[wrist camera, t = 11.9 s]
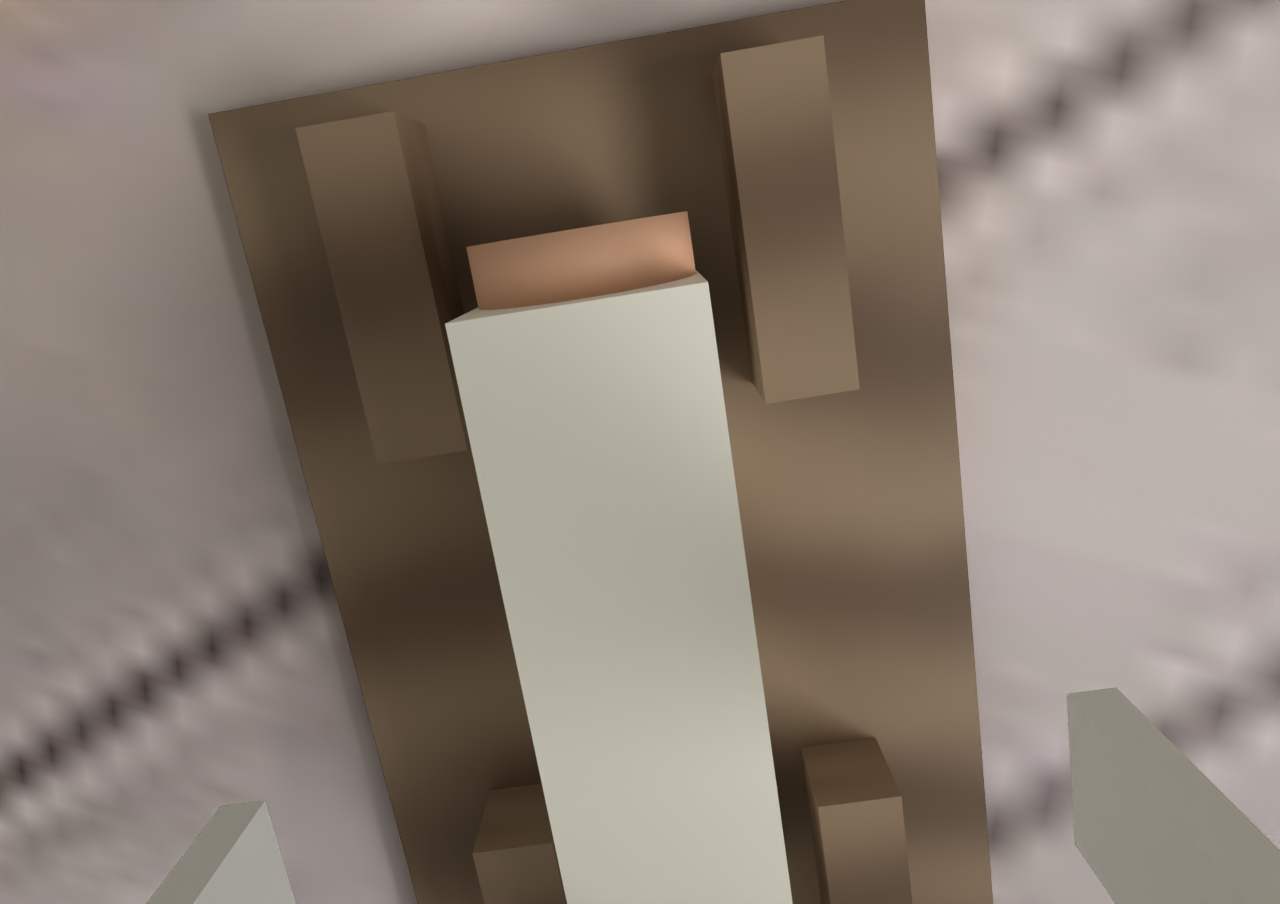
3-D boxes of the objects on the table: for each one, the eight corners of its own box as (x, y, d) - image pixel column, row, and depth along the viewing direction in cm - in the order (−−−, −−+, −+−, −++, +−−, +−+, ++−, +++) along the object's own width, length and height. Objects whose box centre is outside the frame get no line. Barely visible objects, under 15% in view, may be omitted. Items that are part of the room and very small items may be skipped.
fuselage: (773, 849, 25) (835, 1163, 16) (612, 869, 25) (594, 1190, 17) (683, 212, 20) (707, 205, 12) (491, 243, 21) (387, 257, 12)
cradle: (985, 941, 26) (1034, 1047, 23) (460, 1007, 27) (433, 1119, 24) (910, -2, 20) (963, -48, 17) (228, 119, 21) (147, 99, 18)
